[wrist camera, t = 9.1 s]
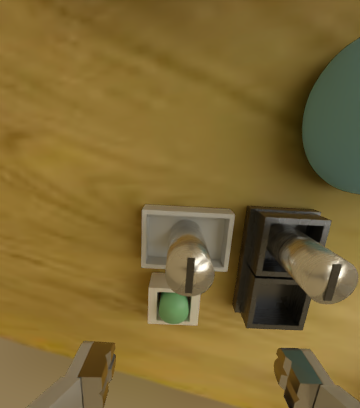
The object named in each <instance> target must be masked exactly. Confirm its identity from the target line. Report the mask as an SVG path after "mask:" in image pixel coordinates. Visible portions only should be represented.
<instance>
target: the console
mask: <svg viewBox="0 0 360 408" xmlns="http://www.w3.org/2000/svg"><path fill="white" fill-rule="evenodd" d="M159 292H171V293H175V292H174V291H172V290H171V289H170V288H169V286H168V284H167V282H166V279H165V273H156V272H152V275H151V279H150V284H149V293H148V324H169V323H166V322H164V321H163V320H162V319H161V318H160V316H159V305H160V302H159ZM200 296H201V294H200V295H197V296H189V301H188V310H189V313H188V316H187V318H186V319H185V320H184V321H183V322H181V323H179V324H171V325H196V326H198V316H199V306H200Z"/></svg>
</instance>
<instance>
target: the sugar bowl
mask: <svg viewBox="0 0 360 408" xmlns="http://www.w3.org/2000/svg"><path fill="white" fill-rule="evenodd" d="M302 139H303V146H304V150H305V153H306V156H307V158H308V161H309V163H310V165H311V166H312V168H313V169H314V171H315V172H316V173H317V174H318V175H319V176H320V177H321V178H322V179H323V180H324V181H326V182H327V183H328V184H330V185H332V186H333V187H335V188H337V189H340V190H342V191H346V192H350V193H355V194H360V38H358V39H357V40H355V41H354V42H352V43H351V44H349V45H348V46H347V47H345V48H344V49H343V50H342V51H341V52H339V53H338V54H337V55H336V56H335V57H334V59H333V60H332V61H331V62H330V63H329V64H328V65H327V67H326V68H325V69H324V71H323V72H322V73H321V75H320V76H319V78H318V79H317V81H316V83H315V84H314V86H313V88H312V90H311V93H310V95H309V97H308V100H307V103H306V106H305V111H304V115H303V123H302Z"/></svg>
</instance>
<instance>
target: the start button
mask: <svg viewBox="0 0 360 408" xmlns="http://www.w3.org/2000/svg"><path fill="white" fill-rule="evenodd" d="M188 313H189V310H188V296H182V295H179V294H177V293H171V292H161V297H160V305H159V316H160V318H161V319H162V320H163V321H164V322H166V323H169V324H179V323H181V322H183V321H184V320H185V319H186V318H187V316H188Z"/></svg>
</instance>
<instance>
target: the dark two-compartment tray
mask: <svg viewBox="0 0 360 408" xmlns="http://www.w3.org/2000/svg"><path fill="white" fill-rule="evenodd" d="M320 214H321V212H319V211H316V210H314V209H296V208H278V207H260V206H247V211H246V218H245V224H244V231H243V238H242V244H241V251H240V258H239V265H238V271H237V278H236V285H235V291H234V298H233V305H232V306H233V308H234V311H235V312H240V313H241V315H242V318H243V320H244V323H245V326H246V328H257V329H282V330H303V327H304V323H305V319H306V316H307V312H308V308H309V304H310V301H311V298H310V297H309V296H308V294H307V293H306V292H305V291H304V290H303V289H302V288H301V287H300V286H299V285H298V284H297V282H296V281H295V280H294V279H293V278H292V277H291V276H290V275H289V274H288V273H287V272H286V270H285V269H284V268H283V267H282V266H281V265H280V264H279V263H278V262H277V261H276V260H275V258H274V257H273V256H272V255H271V254H270V253H269V252H268V251H267V250H266V247H267V242H268V236H269V231H270V227H271V226H273V225H275V224H289V225H291V226H293V227H294V228H296V229H298V230H299V231H301V232H302V233H304V234H305V235H307V236H309V237H310V238H312V239H313V240H315V241H317V242H318V243H320V244H321V245H323V246H324V247H325V244H326V240H327V236H328V233H329V229H330V225H331V220H329V219H327V218H324V217H322V216H320Z"/></svg>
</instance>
